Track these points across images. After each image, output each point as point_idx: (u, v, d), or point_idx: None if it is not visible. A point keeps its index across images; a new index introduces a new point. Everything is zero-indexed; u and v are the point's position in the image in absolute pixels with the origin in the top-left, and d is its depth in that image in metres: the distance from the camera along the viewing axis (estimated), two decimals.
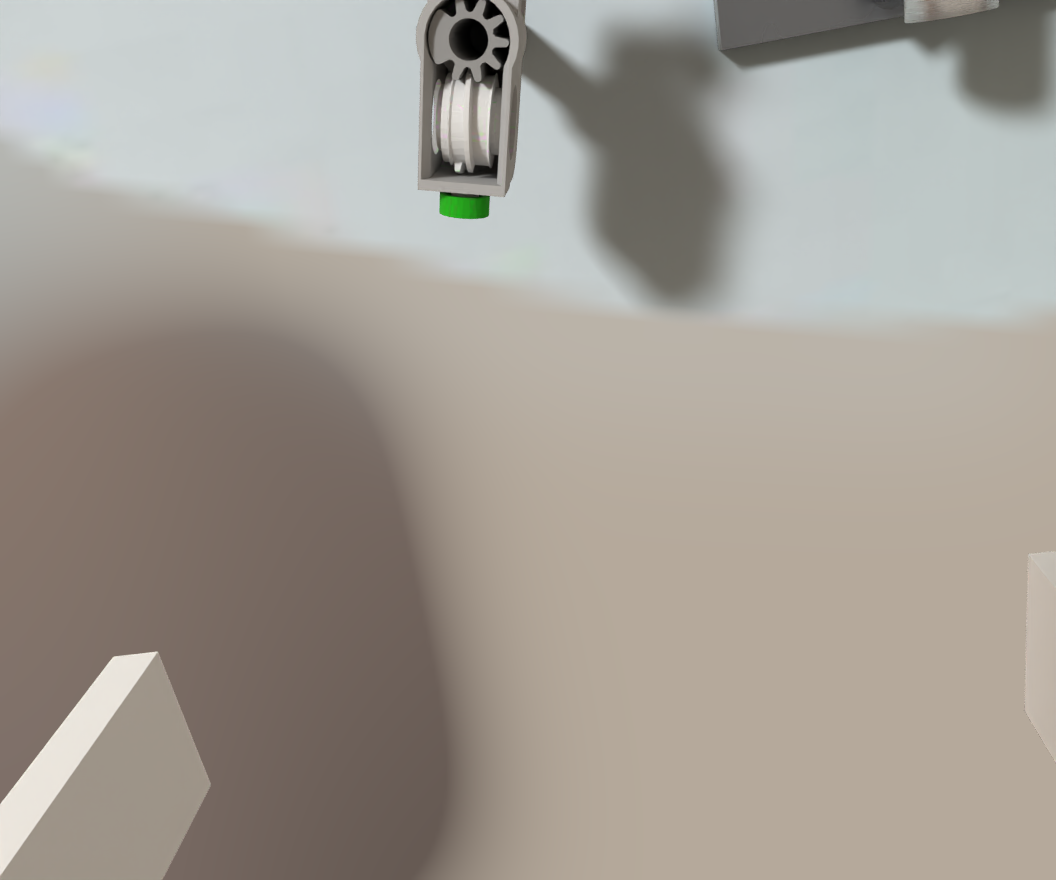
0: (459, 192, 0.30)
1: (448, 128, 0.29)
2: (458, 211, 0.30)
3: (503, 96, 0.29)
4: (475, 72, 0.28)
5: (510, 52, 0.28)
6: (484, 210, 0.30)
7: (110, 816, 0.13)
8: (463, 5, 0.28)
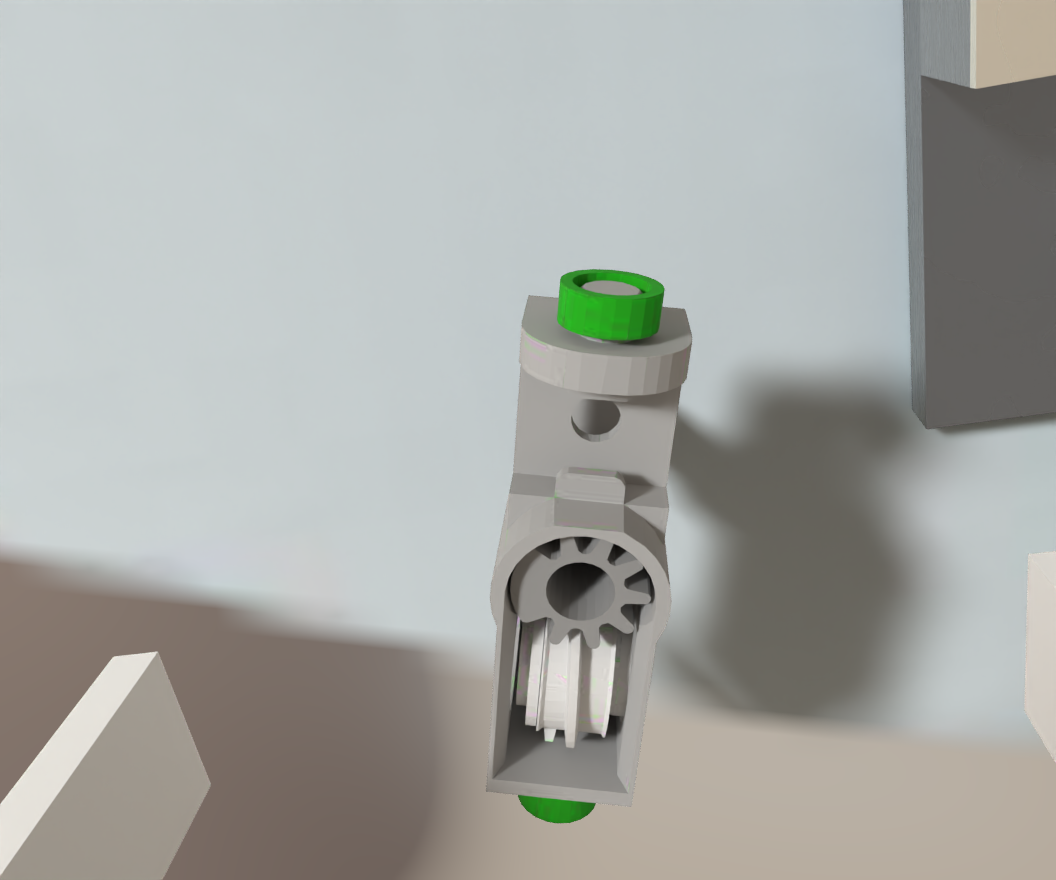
0: (555, 794, 0.18)
1: (540, 707, 0.17)
2: (552, 814, 0.18)
3: (636, 669, 0.17)
4: (590, 636, 0.16)
5: (655, 621, 0.16)
6: None
7: (110, 816, 0.13)
8: (574, 544, 0.16)
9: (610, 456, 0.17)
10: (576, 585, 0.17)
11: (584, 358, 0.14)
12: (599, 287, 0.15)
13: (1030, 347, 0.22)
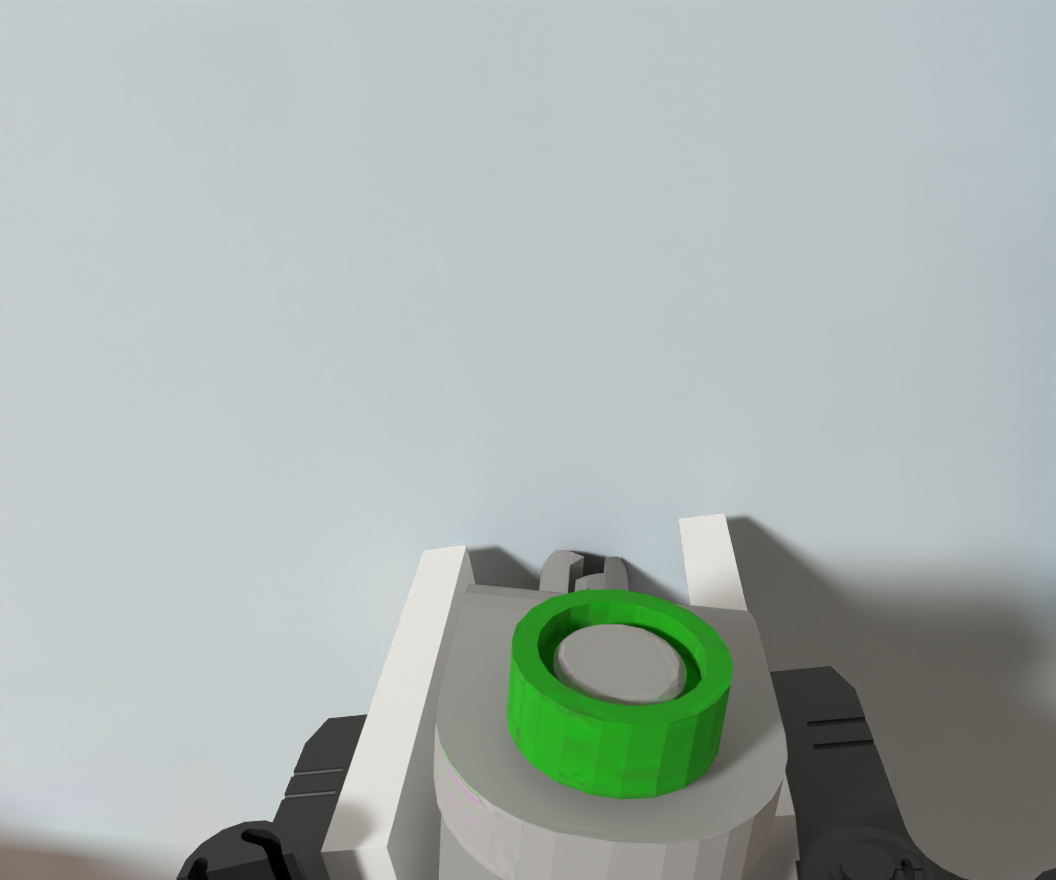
0: None
1: None
2: None
3: None
4: None
5: None
6: None
7: None
8: None
9: None
10: None
11: (561, 840, 0.06)
12: (594, 657, 0.07)
13: None
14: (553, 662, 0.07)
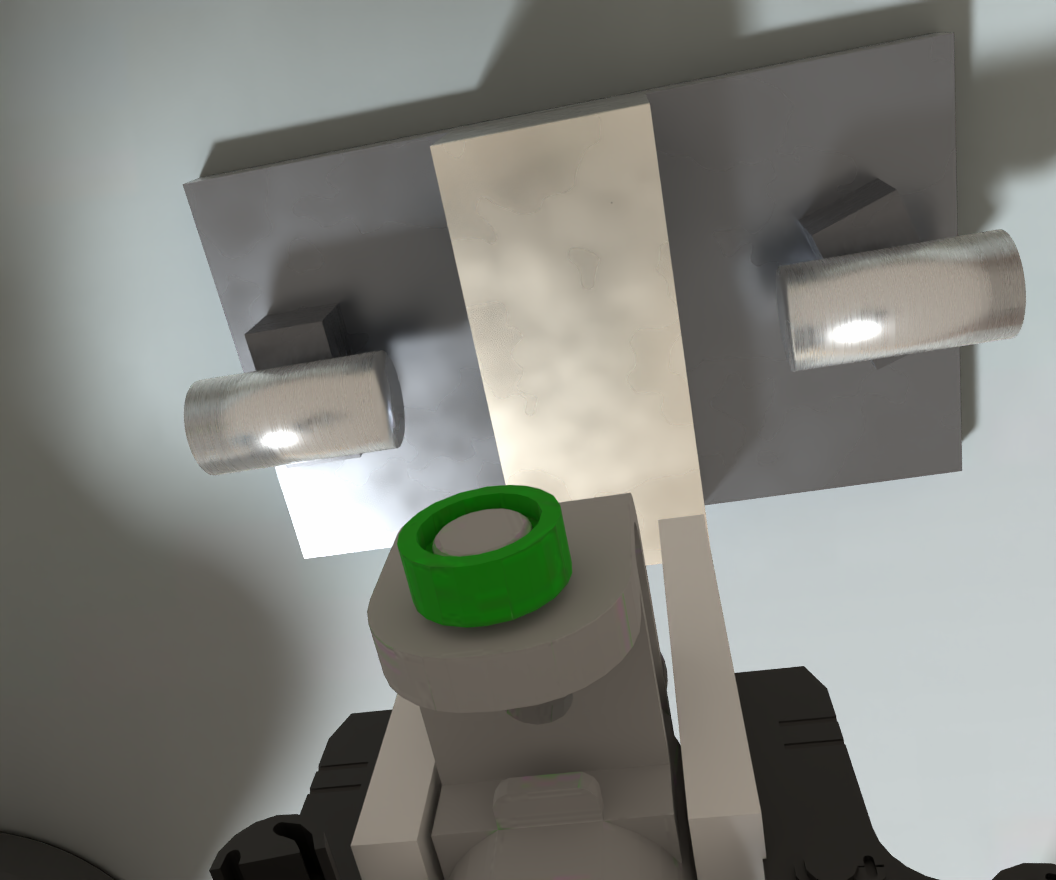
0: None
1: None
2: None
3: None
4: None
5: None
6: None
7: None
8: None
9: (573, 738, 0.11)
10: None
11: (451, 665, 0.09)
12: (460, 533, 0.09)
13: (901, 411, 0.30)
14: (432, 544, 0.09)
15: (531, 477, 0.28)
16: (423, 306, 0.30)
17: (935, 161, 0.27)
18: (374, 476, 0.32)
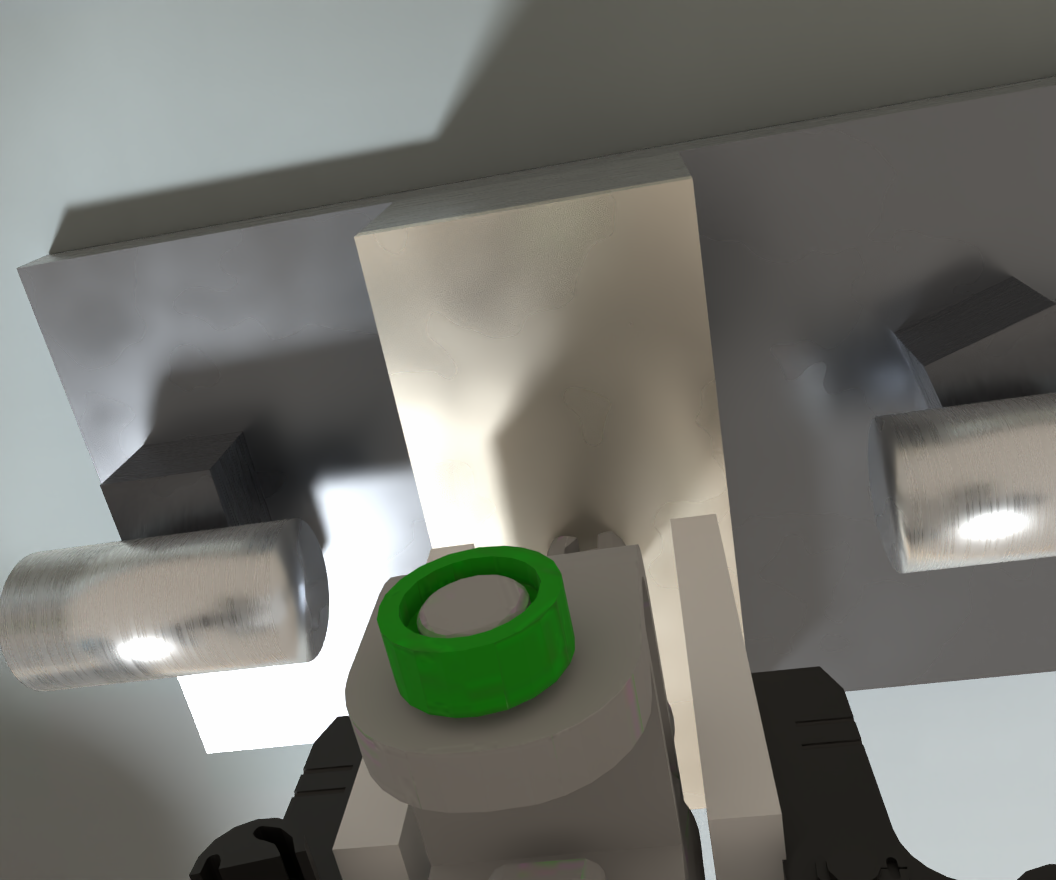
0: None
1: None
2: None
3: None
4: None
5: None
6: None
7: None
8: None
9: (575, 817, 0.10)
10: None
11: (438, 761, 0.08)
12: (449, 605, 0.08)
13: (1025, 588, 0.21)
14: (417, 618, 0.08)
15: None
16: (361, 438, 0.21)
17: None
18: None
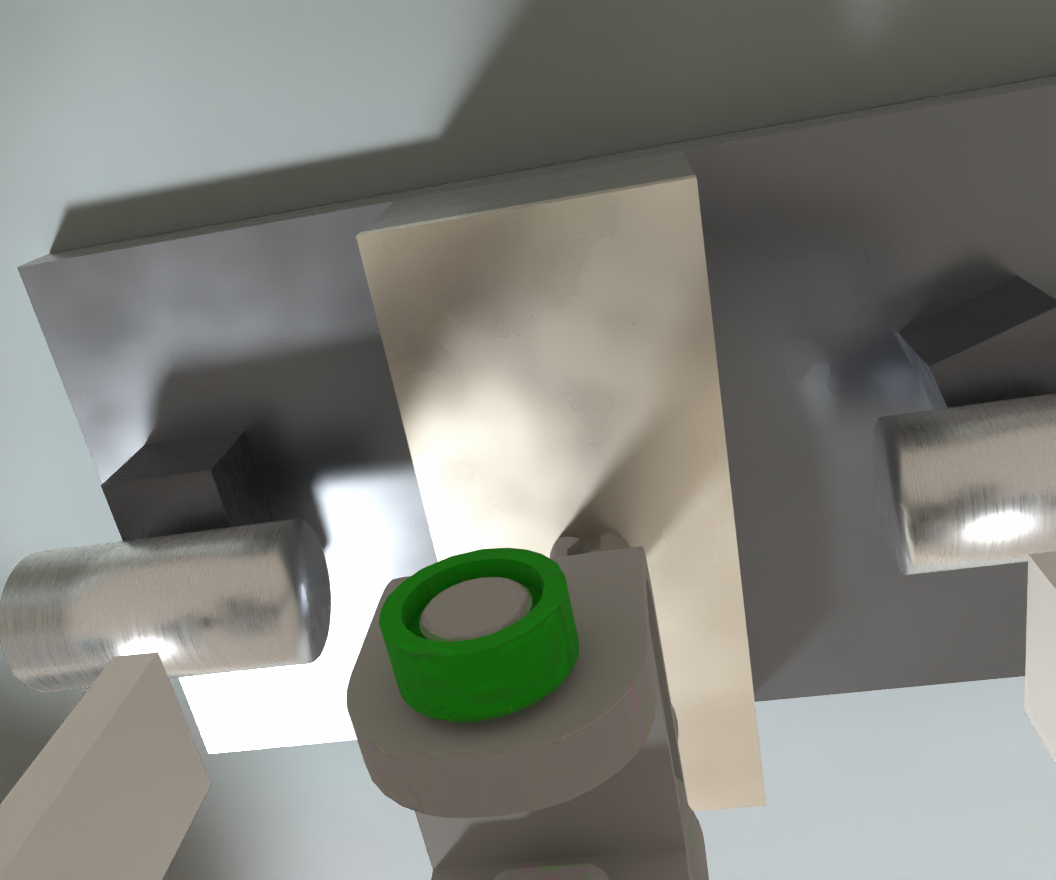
0: None
1: None
2: None
3: None
4: None
5: None
6: None
7: (110, 816, 0.13)
8: None
9: (578, 821, 0.10)
10: None
11: (441, 765, 0.07)
12: (451, 608, 0.08)
13: None
14: (420, 621, 0.08)
15: None
16: (362, 438, 0.21)
17: None
18: None
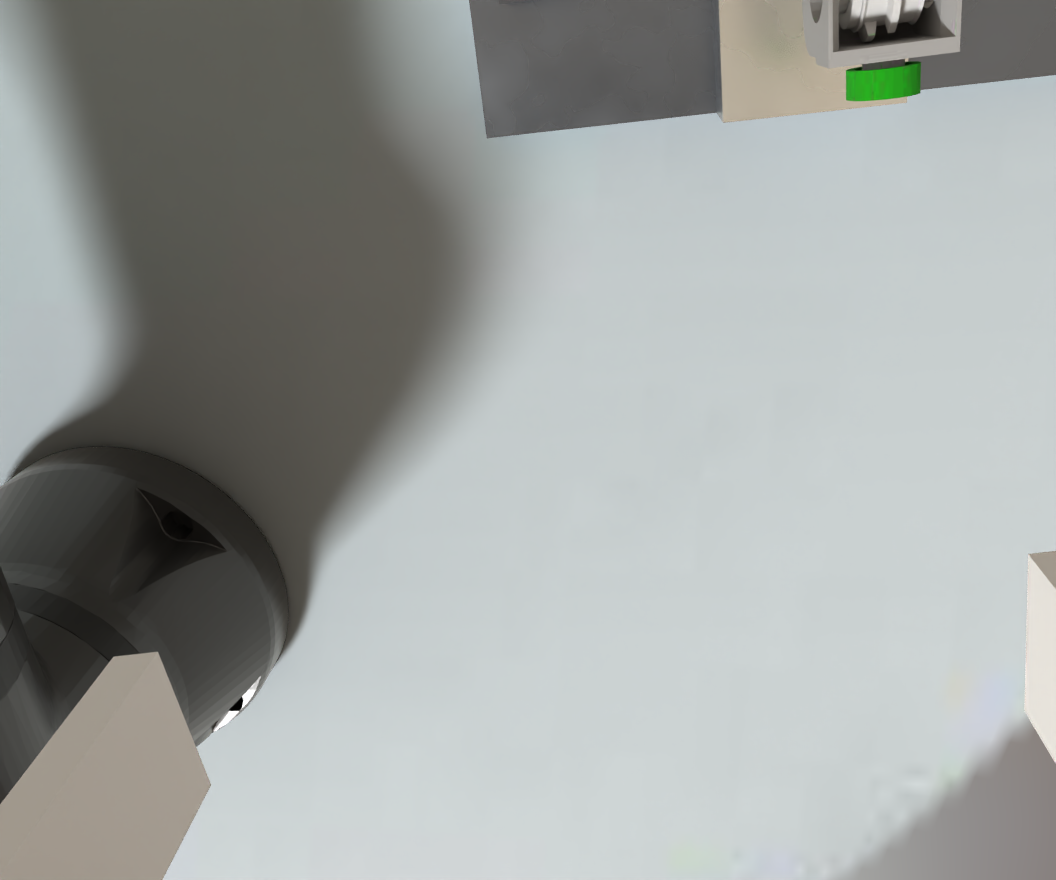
0: (889, 60, 0.21)
1: None
2: (886, 89, 0.21)
3: None
4: None
5: None
6: (919, 82, 0.21)
7: (110, 816, 0.13)
8: None
9: None
10: None
11: None
12: None
13: None
14: None
15: (745, 2, 0.29)
16: None
17: None
18: (568, 46, 0.33)
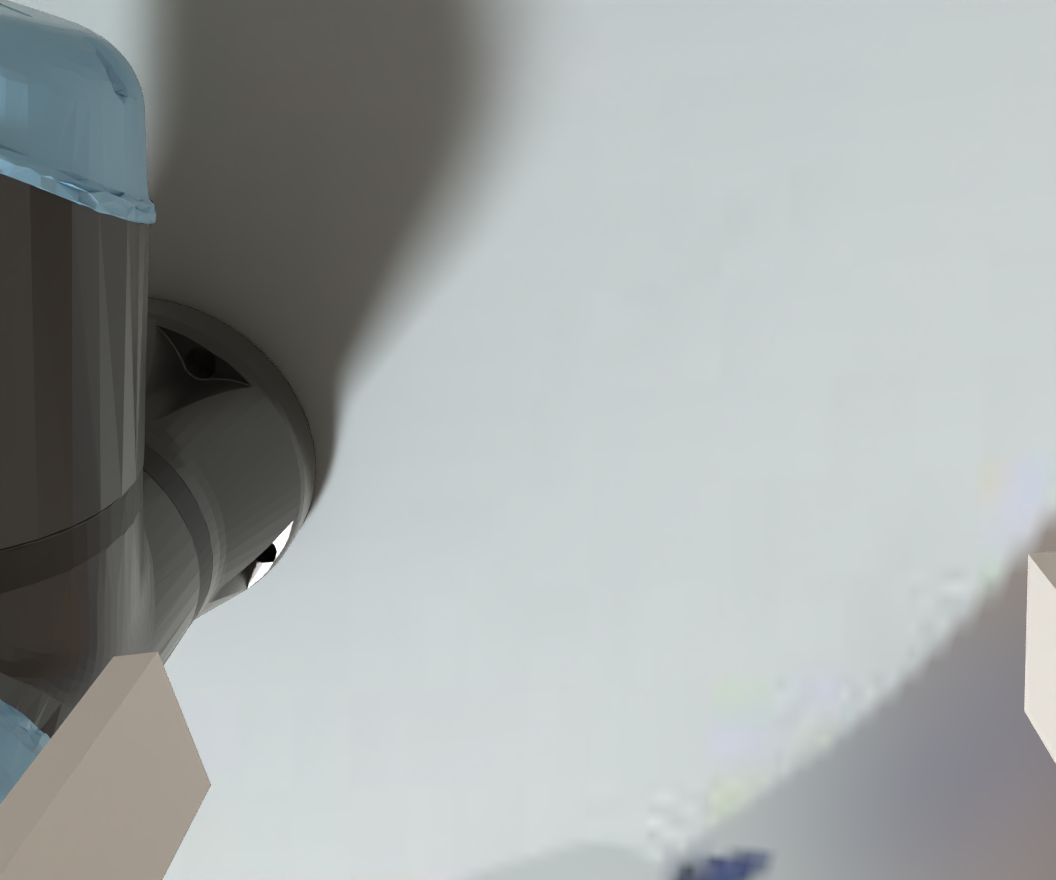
0: None
1: None
2: None
3: None
4: None
5: None
6: None
7: (110, 816, 0.13)
8: None
9: None
10: None
11: None
12: None
13: None
14: None
15: None
16: None
17: None
18: None
